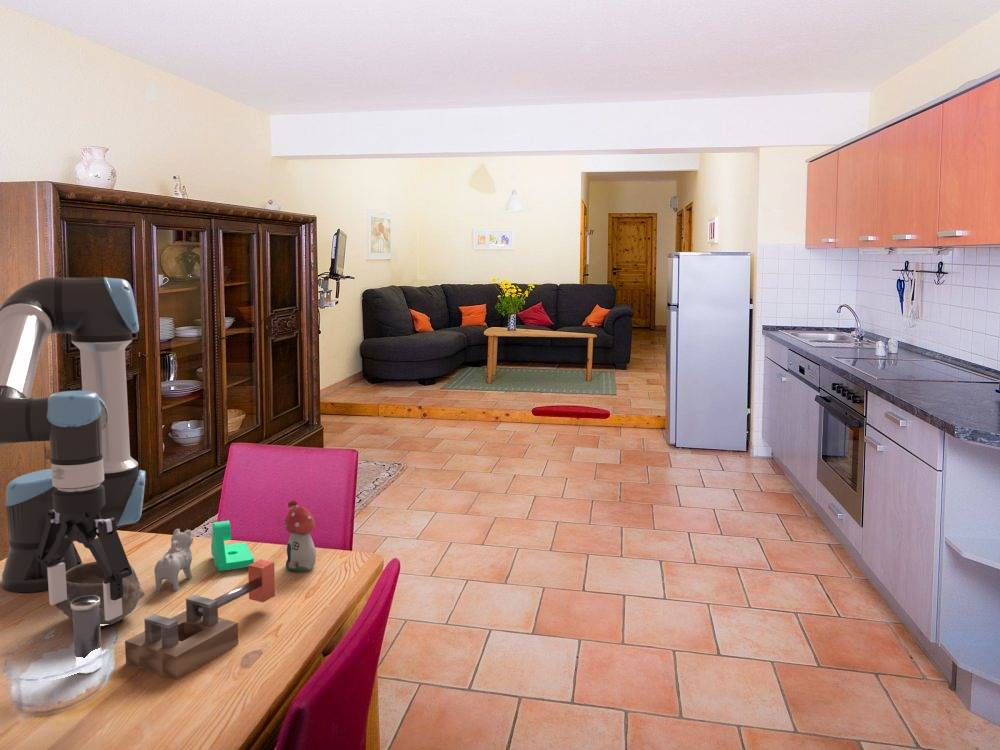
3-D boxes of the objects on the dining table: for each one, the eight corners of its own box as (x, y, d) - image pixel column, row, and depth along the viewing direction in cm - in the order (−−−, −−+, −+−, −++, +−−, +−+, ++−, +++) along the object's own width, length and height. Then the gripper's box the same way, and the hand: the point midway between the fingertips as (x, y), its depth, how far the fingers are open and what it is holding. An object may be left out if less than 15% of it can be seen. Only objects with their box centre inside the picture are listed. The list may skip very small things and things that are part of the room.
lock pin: (193, 628, 143) (191, 591, 142) (261, 592, 159) (260, 559, 158) (207, 632, 141) (206, 595, 140) (275, 595, 157) (274, 562, 156)
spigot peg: (68, 670, 132) (64, 603, 130) (91, 659, 136) (88, 593, 134) (86, 677, 130) (82, 608, 129) (109, 665, 134) (106, 598, 132)
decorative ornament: (283, 561, 182) (282, 498, 180) (312, 557, 185) (311, 495, 182) (288, 576, 174) (287, 510, 171) (318, 572, 176) (317, 507, 174)
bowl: (87, 645, 141) (84, 592, 139) (41, 624, 149) (37, 573, 147) (157, 617, 153) (155, 568, 151) (111, 598, 161) (108, 551, 159)
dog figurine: (200, 570, 176) (198, 524, 175) (177, 593, 163) (175, 544, 162) (176, 570, 176) (175, 524, 175) (151, 593, 163) (149, 544, 162)
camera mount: (255, 570, 177) (253, 526, 176) (219, 575, 174) (217, 531, 172) (245, 552, 188) (244, 511, 186) (211, 557, 184) (210, 515, 183)
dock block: (125, 662, 135) (123, 618, 134) (189, 629, 148) (188, 588, 146) (176, 679, 130) (174, 633, 129) (238, 643, 142) (236, 601, 141)
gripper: (7, 481, 131) (15, 603, 133) (111, 501, 120) (118, 633, 123) (49, 472, 137) (56, 588, 140) (151, 489, 127) (157, 615, 129)
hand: (85, 609), depth 131 cm, fingers open, 13 cm apart
